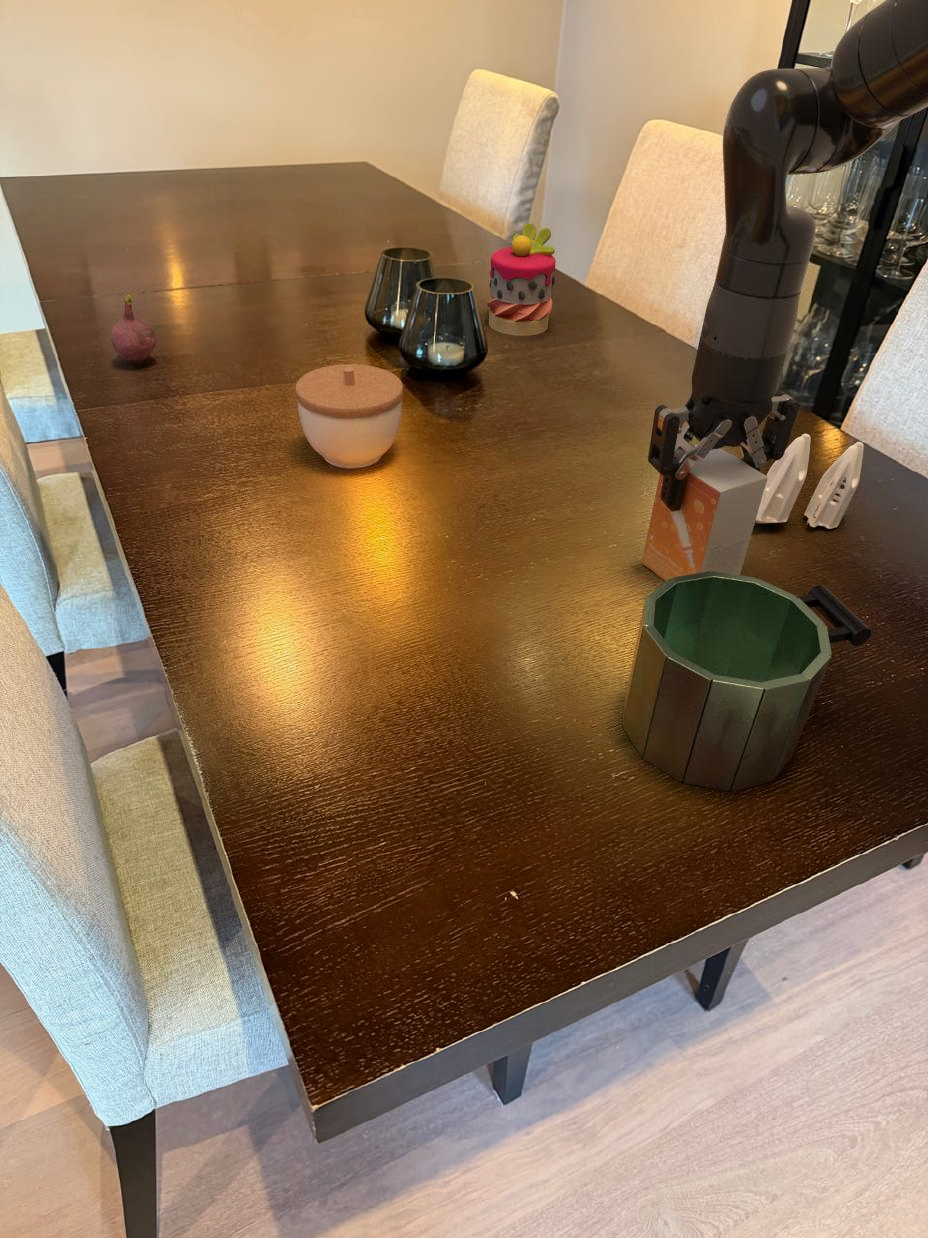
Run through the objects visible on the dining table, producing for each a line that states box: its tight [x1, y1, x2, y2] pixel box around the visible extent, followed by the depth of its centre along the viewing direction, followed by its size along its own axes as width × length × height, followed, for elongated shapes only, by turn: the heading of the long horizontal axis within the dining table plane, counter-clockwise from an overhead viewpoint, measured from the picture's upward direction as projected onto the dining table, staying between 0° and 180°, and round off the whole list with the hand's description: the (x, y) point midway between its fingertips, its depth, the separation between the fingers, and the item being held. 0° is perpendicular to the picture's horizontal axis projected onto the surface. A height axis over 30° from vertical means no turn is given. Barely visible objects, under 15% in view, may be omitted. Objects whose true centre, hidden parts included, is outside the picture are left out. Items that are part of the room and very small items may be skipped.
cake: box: [486, 222, 557, 337], centre depth 143 cm, size 10×11×15 cm
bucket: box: [621, 571, 873, 792], centre depth 73 cm, size 11×14×18 cm
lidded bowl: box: [294, 363, 404, 469], centre depth 107 cm, size 13×13×11 cm
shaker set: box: [755, 433, 865, 530], centre depth 99 cm, size 12×4×11 cm, turn 99°
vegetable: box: [110, 294, 157, 364], centre depth 126 cm, size 6×6×10 cm
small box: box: [641, 444, 768, 582], centre depth 89 cm, size 8×6×13 cm
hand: (705, 501), depth 88 cm, fingers closed on small box, 7 cm apart
